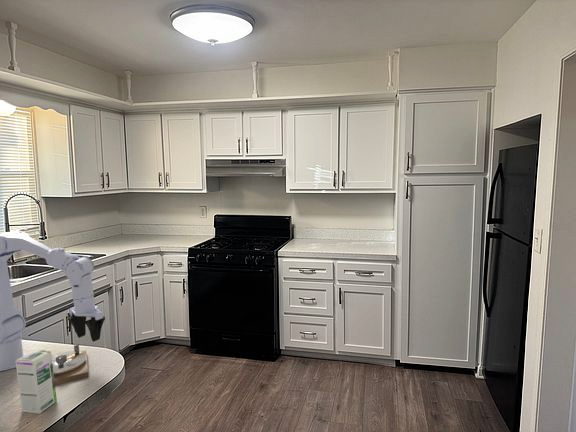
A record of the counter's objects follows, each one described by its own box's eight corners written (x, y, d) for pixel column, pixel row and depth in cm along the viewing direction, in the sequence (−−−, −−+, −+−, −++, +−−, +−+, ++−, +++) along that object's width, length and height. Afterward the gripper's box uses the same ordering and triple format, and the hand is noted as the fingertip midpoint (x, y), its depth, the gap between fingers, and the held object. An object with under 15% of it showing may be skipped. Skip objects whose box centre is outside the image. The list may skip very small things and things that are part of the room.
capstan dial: (70, 352, 130) (69, 339, 129) (93, 361, 123) (92, 347, 123) (28, 369, 119) (27, 355, 118) (51, 380, 112) (50, 365, 112)
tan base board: (38, 365, 125) (37, 359, 125) (86, 354, 132) (86, 349, 132) (33, 390, 110) (33, 383, 110) (88, 376, 117) (87, 370, 117)
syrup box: (39, 414, 99) (34, 360, 97) (20, 412, 100) (14, 359, 98) (57, 401, 104) (52, 350, 103) (38, 399, 106) (33, 349, 104)
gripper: (109, 295, 120) (114, 336, 122) (82, 290, 127) (87, 330, 129) (88, 302, 114) (93, 346, 116) (60, 297, 121) (66, 338, 123)
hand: (88, 338), depth 122 cm, fingers open, 7 cm apart
